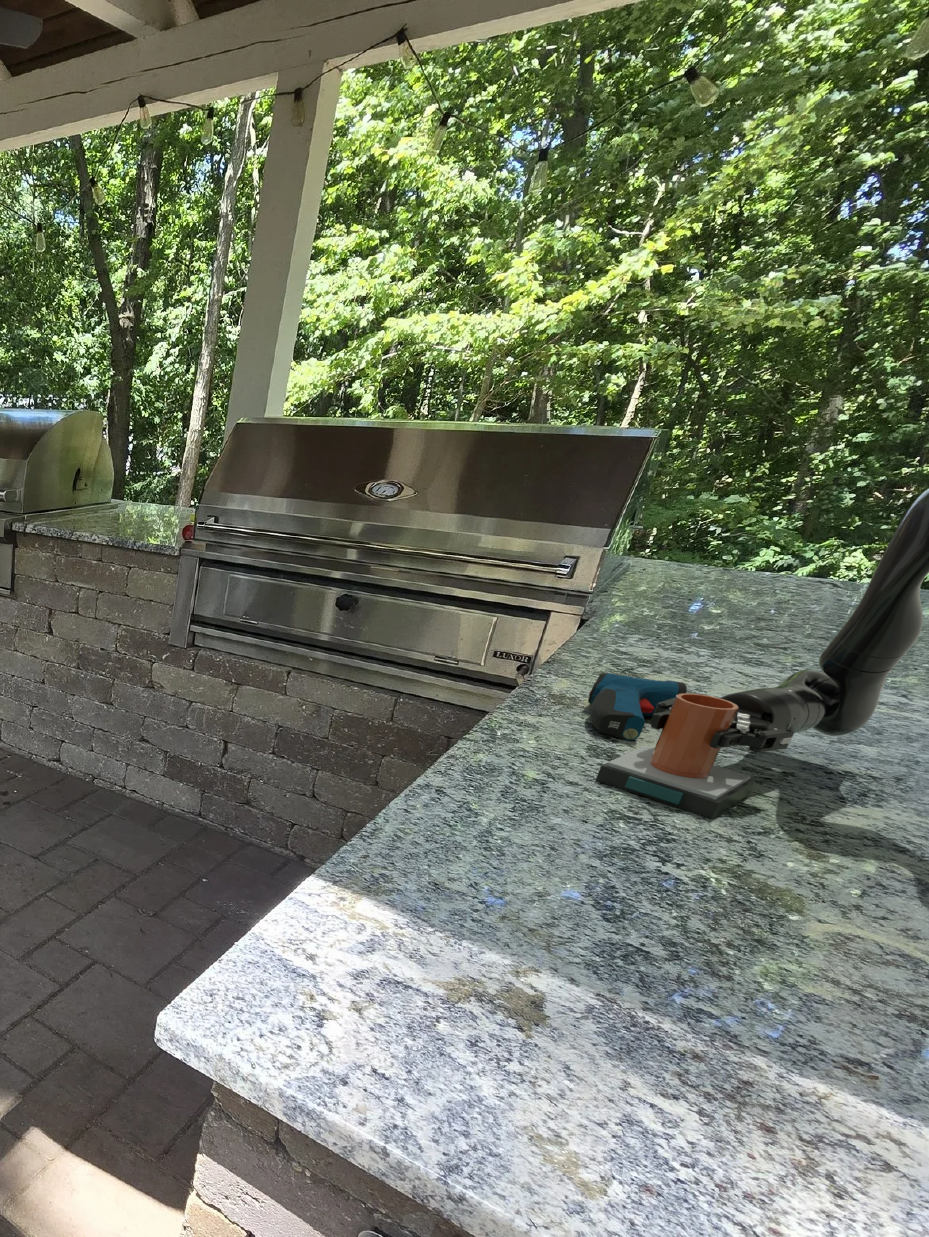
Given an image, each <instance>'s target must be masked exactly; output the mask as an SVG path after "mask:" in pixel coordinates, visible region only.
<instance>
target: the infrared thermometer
mask: <svg viewBox="0 0 929 1237" xmlns="http://www.w3.org/2000/svg"><path fill="white" fill-rule="evenodd" d="M683 693H688V688H687V685H686V684H685V683H684V682H682V681H681V682H680V681H673V680H657V679H652V678H651V679H650V678H643V677H635V676H629V675H621V674H615V673H611V672H609V673H608V672H601V673H600V674H599V675H598V677H597V679H596V681H595V682H594V683H593V686H592V688H591V690H590V691H589V693H588V699H587V702H588V703H589V704H591V708H590V712H589V720H590V722H591V724H592V725H593V727H594V728H595V729H596V730H598V731H599V732H600V733H602V734H606V735H608V736H612V737H615V738H619V739H622V740H625V741H635V740H637V739H638V738H639V737H640V736H641V734H642V731H643V728H644V726H645V723H646V720H645V718H644V717H649V718H652V717H653V714H654V712H655V709H656V707H657V704H658V703H659V702H662V701H666V700H669V699H672V698H676V695H678V694H683Z"/></svg>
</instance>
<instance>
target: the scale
mask: <svg viewBox="0 0 929 1237" xmlns="http://www.w3.org/2000/svg"><path fill="white" fill-rule="evenodd" d="M654 749H655V747H652V746H648V745H642V746H640V747H637V748H636V749H634V750H631V751H629V752H627V753H625V754H622V755H621V756H618V757H616V758H614V759H612V760H610V761H608V762H606V763H604V764H602V765H601V764H600V768H599V770H598V773H597V776H596V778H595V781H596V782H599V783H601V784H604V785H608V786H612V787H614V788H617V789H620V790H623V791H626V792H629V793H632V794H634V795H638V796H641V797H645V798H647V799H650V800H653V801H656V802H659V803H661V804H662V803H663V804H665V805H669V806H671V807H675V808H677V809H680V810H682V811H683V810H684V811H686V812H689V813H693V814H695V815H699V816H701V817H705V818H708V819H711V820H712V819H714V818H716V817H717V816H719V815H720V814H722V813H723V812H725V811H726V810H728V809H729V808H731V807H732V806H734V805H736V804H737V803H738V802H739V803H740V802H741V801H742V800H744V799H745V798H747V797H748V796H749V794H750V792H751V790H752V787H753V786H754V784H755V782H756V781H755V780H754V779H752V778H751V775H749V774H745V773H742V772H739V771H735V770H733V769H732V770H731V769H730V768H729V769H728V768H724V767H722V766H718V765H714V764H713V767H712V769H711V771H710V772H709V774H708V776H707V777H705V778H688V777H682V776H677V775H673V774H670V773H667V772H664V771H661V770H659V769H657V768H655V767H653V766H652V765H651V764H650V760H651V756H652V754H653V751H654Z"/></svg>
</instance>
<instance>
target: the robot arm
mask: <svg viewBox="0 0 929 1237" xmlns="http://www.w3.org/2000/svg"><path fill="white" fill-rule="evenodd" d="M928 574H929V487H928V488H927V489H925V490H924V491H923V492H922V493H920V494H919V495H918V496H917V497H916V498H915V500H914V501H913V502H912V503H911V504H910V506H909V507H908V508H907V510H906V511H905V513H904V515H903V516H902V517H901V520H900V521H899V524H898V525H897V527H896V529H895V531H894V533H893V534H892V536H891V539H890V541H889V543H888V545H887V547H886V549H885V551H884V552H883V555H882V557H881V559H880V561H879V562H878V565H877V566H876V569H875V571H874V573H873V575H872V577H871V579H870V582H868V583H869V584H868V586H867V588H866V589H865V592H864V593H863V596H862V598H861V600H860V601H859V603H858V605H857V606H856V608H855V610H854V611H853V612H852V614H851V615H850V617H849V618H848V620H846V622H845V623H844V625H843V626H842V627H841V628H840V630H839V631H837V633H836V634H835V636H834V637H833V638H832V640H831V641H830V642H829V644H828V645H827V646H826V647H825V649H824V650H823V651H822V653H821V654H820V657H819V658H818V666H819V668H820V670H821V671H822V672H821V671H818V670H811V669H803V670H798V671H796V672H794V673H792V674H790V675H789V676H787V677H786V678H785V679H784V680H782V681H781V682H780V683H779V684H778V685H777V686H774V687H760V688H754V689H749V690H744V691H743V690H742V691H739V692H733V693H729V694H726V695H723V696H720V698H721V699H724V700H727V701H730V702H732V703H734V704H736V705H738V707H739V708H738V711H737V713H736V715H735V717H734V720H733V722H732V724H731V726H730V729H727V730H722V731H717V732H716V733H715V734H714V736H713V738H712V741H711V743H710V747H713V748H716V749H718V748H721V749H722V748H731V747H733V748H736V749H740V748H742V747H749V748H748V751H751V752H753V753H765V752H773V751H781V750H787V748H789V747H788V746H789V745H790V743H791V741H792V739H793V737H794V734H797V733H801V732H806V731H808V730H810V729H813V730H814V731H816V732H818V733H820V734H823V735H826V736H830V737H840V736H845V735H850V734H852V733H854V732H857V731H858V730H860V729H861V728H863V727H864V726H865V725H867V723H868V722H869V720H870V719H871V718H872V716H873V714H874V713H875V711H876V708H877V706H878V703H879V701H880V700H879V699H880V697H881V693H882V690H883V687H884V685H885V682H886V680H887V678H888V675H889V674H890V672H891V671H892V670H893V668H894V667H896V666H897V664H898V663H899V662H900V661H901V659H902V658H903V657H904V656H905V655H906V654H907V653H908V652H909V650H910V649H911V648H912V647H913V646H914V645H915V643H916V642H917V640H918V638H919V636H920V635H921V633H922V630H923V625H924V613H923V606H922V601H921V587H922V584H923V582H924V580H925V578H926V577H927V576H928ZM674 700H675V698H672V699H669V700H666V701H662V702H659V703H658V704H657V707H656V709H655V712H654V714H653V717H651V720H650V722H649V725H650V728H652V729H655V730H662V729H663V727H664V724H665V722H666V720H667V717H668V715H669V712H670V710H671V707H672V705H673V703H674Z"/></svg>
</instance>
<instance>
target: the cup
mask: <svg viewBox="0 0 929 1237" xmlns="http://www.w3.org/2000/svg"><path fill="white" fill-rule="evenodd" d="M738 708H739V707H738V705H736V704H734V703H732V702H730V701H727V700H724V699H721V697H716V696H713V695H707V694H700V693H688V692H687V693H683V694H678V695H676V698H675V700H674V703H673V705H672V707H671V710H670V712H669V715H668V717H667V720H666V722H665V724H664V727H663V729H661V732H660V735H659V736H658V740H657V742H656V744H655V746H654V748H655V749H654V751H653V754H652V756H651V760H650V764H651V765H652V766H653V767H655V768H657V769H659V770H661V771H664V772H667V773H670V774H673V775H677V776H682V777H688V778H705V777H707V776H708V774H709V772H710V771H711V769H712V767H713V765H714V764H715V762H716V760H717V758H718V756H719V753H720V751H721V749H722V748H718V749H716V748H713V747H710V743H711V741H712V738H713V736H714V734H715V733H716V732H717V731H722V730H727V729H730V726H731V724H732V722H733V720H734V717H735V715H736V713H737V711H738Z"/></svg>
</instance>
